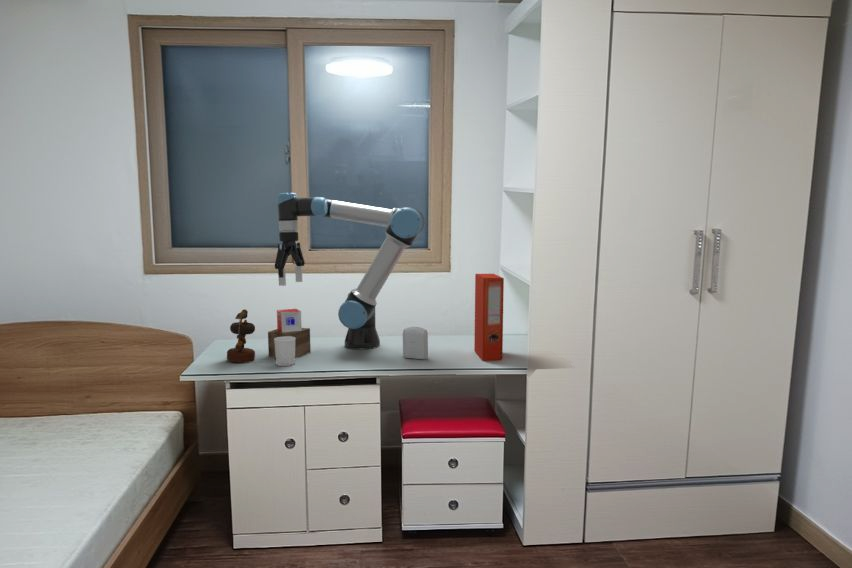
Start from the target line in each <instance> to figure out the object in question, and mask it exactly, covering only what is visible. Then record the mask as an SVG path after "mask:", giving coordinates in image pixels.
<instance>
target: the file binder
mask: <svg viewBox="0 0 852 568" xmlns="http://www.w3.org/2000/svg"><path fill="white" fill-rule="evenodd" d="M474 276H475V277H474V278H475V279H474V280H475V281H474V283H475V284H474V287H475V289H474V344H473V345H474V347H473V349H474V352H475V353H476V355H477V356H478V357H479V358H480V360H481V361H483V362H488V361H489V362H492V361H495V362H497V361H502V360H503V350H504V349H503V347H504V346H503V345H504V344H503V341H504V339H503V337H504V336H503V335H504V334H503V332H504V289H505V288H504V284H505V283H504V282H505V281H504V279H505V278H504V277H502V276H500V275H498V274H495V273H475V275H474Z"/></svg>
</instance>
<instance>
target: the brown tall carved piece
mask: <svg viewBox="0 0 852 568" xmlns="http://www.w3.org/2000/svg"><path fill="white" fill-rule="evenodd" d="M248 314H249V312H248V310H247V309H246V308H244V309H242V310H241V311H240V312H238V313H237V315H236V316H235V318H234V319H235V320H239V321H237V322H232V323H231V325H230V326H229V330H230V332H231V333H232V334H233V335H236V339H238V340H237V343H236V344H235V346H234V347H232V348H229V349H228V350H227V351H226V360H227V361H228V362H233V363H251V362H254V361H255V360H256V359H255V358H256V351H255V350H254V349H252V348H249V347H245V345H246V343H247V340H246V336H247V335H253V333H255V331H256V325H255V324H254V323H252V322H248V320H247V318H248ZM243 320H244V321H243Z"/></svg>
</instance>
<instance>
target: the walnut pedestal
mask: <svg viewBox="0 0 852 568" xmlns="http://www.w3.org/2000/svg"><path fill="white" fill-rule="evenodd" d="M284 336H291V337H295V338H296V339H295V359H297V358H299V357H303V356H305V355H308V354H310V353H311V328H310V327H309V328H308V327H302V331H294V332H281V331H279V330H278V329H277V328H276V329H273V330H270V331H267V341H268V342H267V344H268V357H269V356H270V358H276V355H275V344H274V338H277V337H284ZM307 353H308V354H307Z"/></svg>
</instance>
